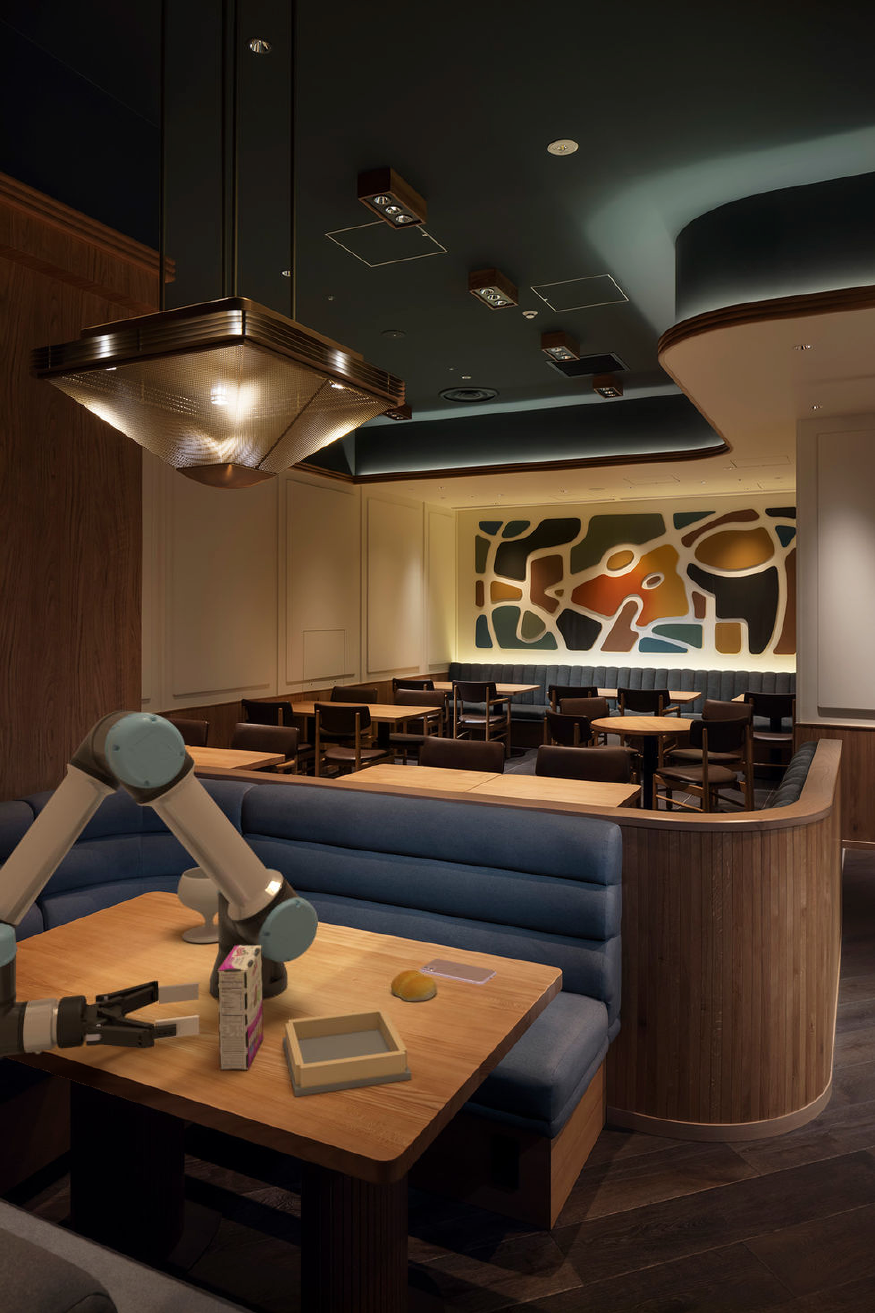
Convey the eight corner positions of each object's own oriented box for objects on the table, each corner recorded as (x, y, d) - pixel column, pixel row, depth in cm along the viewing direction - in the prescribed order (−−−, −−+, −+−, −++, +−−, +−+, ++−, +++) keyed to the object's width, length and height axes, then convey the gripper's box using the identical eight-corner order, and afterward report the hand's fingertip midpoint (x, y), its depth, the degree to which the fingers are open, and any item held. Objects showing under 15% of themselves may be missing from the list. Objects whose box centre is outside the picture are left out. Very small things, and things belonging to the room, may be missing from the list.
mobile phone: (481, 982, 170) (417, 968, 177) (481, 987, 170) (417, 973, 177) (498, 969, 176) (435, 956, 184) (498, 974, 176) (435, 961, 184)
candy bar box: (234, 1039, 147) (234, 944, 147) (263, 1039, 147) (263, 944, 146) (217, 1071, 136) (216, 968, 135) (248, 1071, 135) (247, 968, 135)
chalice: (251, 934, 200) (251, 871, 200) (200, 950, 190) (199, 883, 190) (217, 922, 209) (216, 861, 209) (166, 936, 199) (165, 872, 199)
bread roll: (413, 1007, 160) (413, 985, 160) (384, 992, 167) (384, 972, 167) (446, 995, 165) (446, 974, 165) (417, 981, 172) (417, 961, 172)
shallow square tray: (282, 1043, 145) (282, 1019, 145) (385, 1029, 150) (385, 1007, 150) (295, 1096, 128) (295, 1070, 128) (411, 1079, 133) (411, 1053, 133)
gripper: (69, 1014, 145) (198, 999, 151) (44, 1086, 121) (199, 1065, 127) (69, 970, 145) (198, 957, 151) (44, 1034, 121) (199, 1015, 127)
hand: (199, 1006), depth 139 cm, fingers open, 13 cm apart
